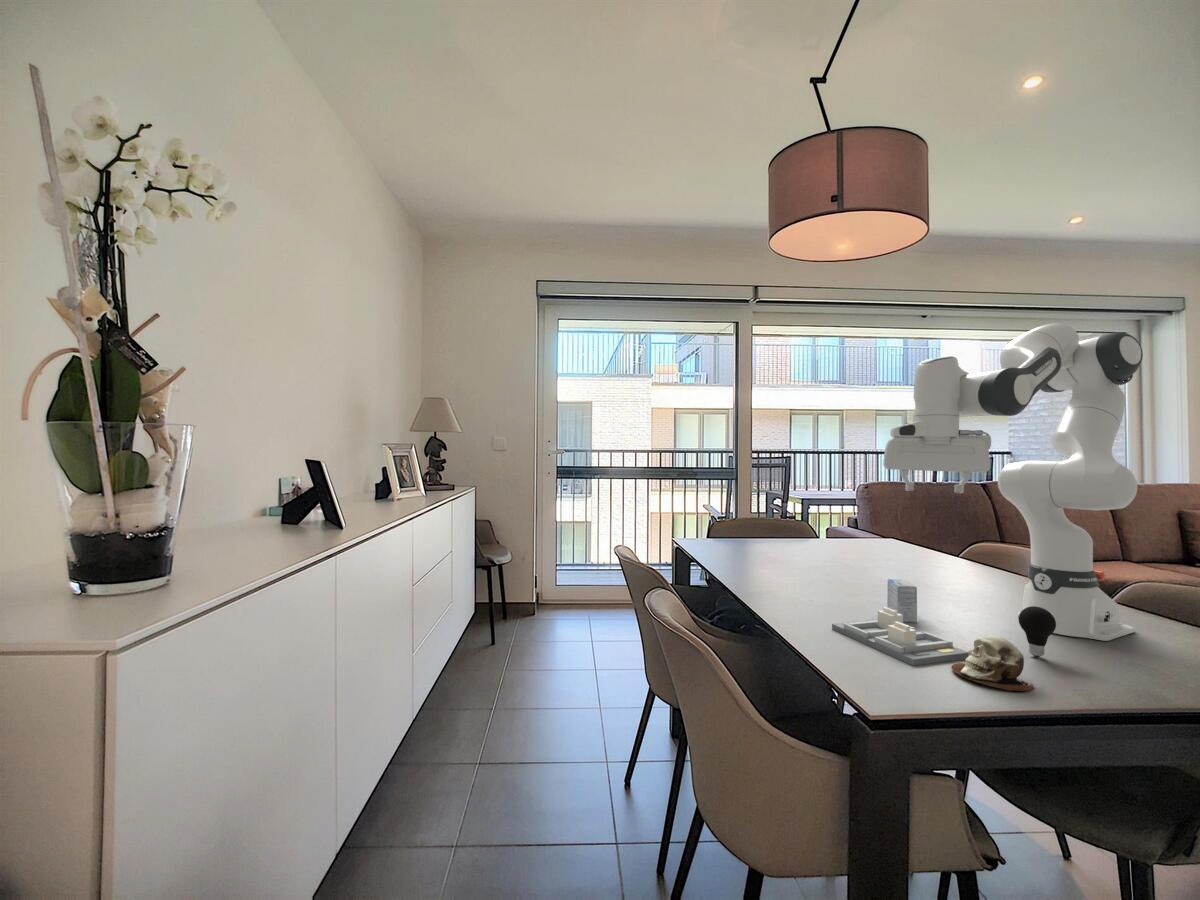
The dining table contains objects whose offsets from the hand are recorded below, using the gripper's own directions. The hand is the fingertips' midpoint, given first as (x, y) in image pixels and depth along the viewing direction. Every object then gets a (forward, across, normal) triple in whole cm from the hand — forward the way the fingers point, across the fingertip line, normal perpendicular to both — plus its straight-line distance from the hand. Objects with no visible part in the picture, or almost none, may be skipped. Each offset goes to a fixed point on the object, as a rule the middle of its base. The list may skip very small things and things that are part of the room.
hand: (933, 491), depth 122 cm
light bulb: (+32, -17, +6) cm, 37 cm away
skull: (+32, -6, +22) cm, 40 cm away
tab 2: (+31, +7, +14) cm, 35 cm away
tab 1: (+31, +8, +3) cm, 32 cm away
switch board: (+32, +8, +9) cm, 34 cm away
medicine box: (+32, +4, -12) cm, 35 cm away
